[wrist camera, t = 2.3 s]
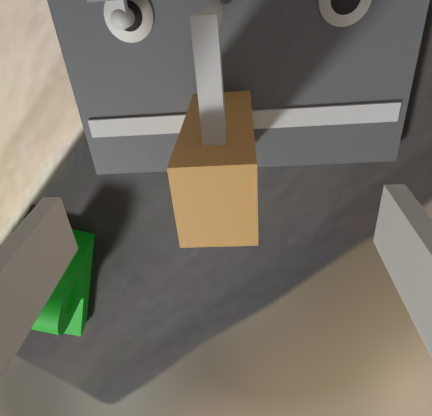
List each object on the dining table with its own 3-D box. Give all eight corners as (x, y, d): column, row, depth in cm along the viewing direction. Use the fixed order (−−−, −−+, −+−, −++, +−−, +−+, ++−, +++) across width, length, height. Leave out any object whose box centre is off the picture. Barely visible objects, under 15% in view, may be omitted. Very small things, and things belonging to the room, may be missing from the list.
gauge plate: (47, -41, 21) (16, -42, 18) (433, -78, 19) (467, -86, 16) (103, 165, 28) (87, 188, 25) (388, 151, 26) (407, 175, 23)
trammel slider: (183, 1, 20) (143, 26, 12) (247, -4, 20) (254, 18, 11) (199, 153, 25) (180, 247, 17) (251, 150, 25) (258, 245, 16)
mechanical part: (25, 216, 31) (-32, 284, 25) (95, 232, 32) (58, 302, 25) (29, 308, 38) (-16, 381, 31) (87, 320, 38) (55, 394, 32)
